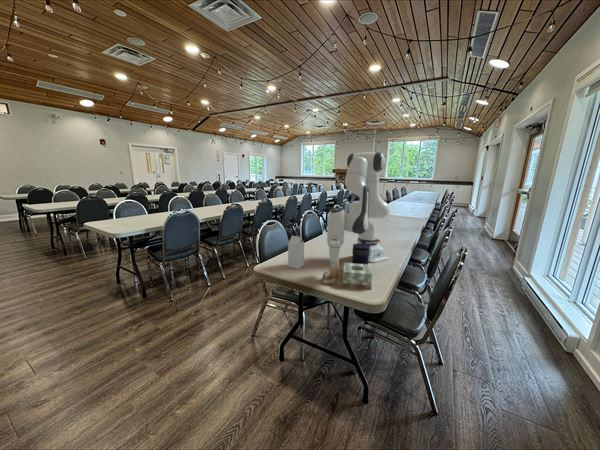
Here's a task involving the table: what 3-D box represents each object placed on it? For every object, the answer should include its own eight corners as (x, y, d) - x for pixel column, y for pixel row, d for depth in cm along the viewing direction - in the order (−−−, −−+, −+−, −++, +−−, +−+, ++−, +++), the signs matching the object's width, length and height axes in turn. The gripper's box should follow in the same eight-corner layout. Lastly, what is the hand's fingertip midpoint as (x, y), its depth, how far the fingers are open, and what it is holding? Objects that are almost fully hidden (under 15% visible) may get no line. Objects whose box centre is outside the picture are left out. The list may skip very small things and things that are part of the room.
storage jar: (348, 267, 152) (349, 243, 149) (362, 266, 155) (364, 242, 152) (356, 273, 143) (358, 248, 140) (371, 272, 146) (373, 247, 143)
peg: (335, 274, 137) (336, 250, 134) (339, 277, 133) (340, 252, 130) (328, 275, 135) (329, 251, 132) (332, 278, 131) (333, 253, 128)
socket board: (368, 276, 139) (369, 264, 137) (371, 289, 123) (372, 275, 122) (325, 273, 143) (326, 260, 142) (323, 284, 128) (323, 270, 126)
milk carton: (297, 269, 148) (298, 238, 144) (288, 266, 152) (288, 236, 148) (303, 265, 154) (304, 236, 150) (294, 263, 158) (294, 234, 154)
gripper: (330, 234, 141) (329, 257, 143) (327, 243, 121) (326, 270, 124) (342, 234, 139) (341, 258, 142) (341, 244, 120) (339, 271, 122)
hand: (334, 264), depth 133 cm, fingers open, 6 cm apart
